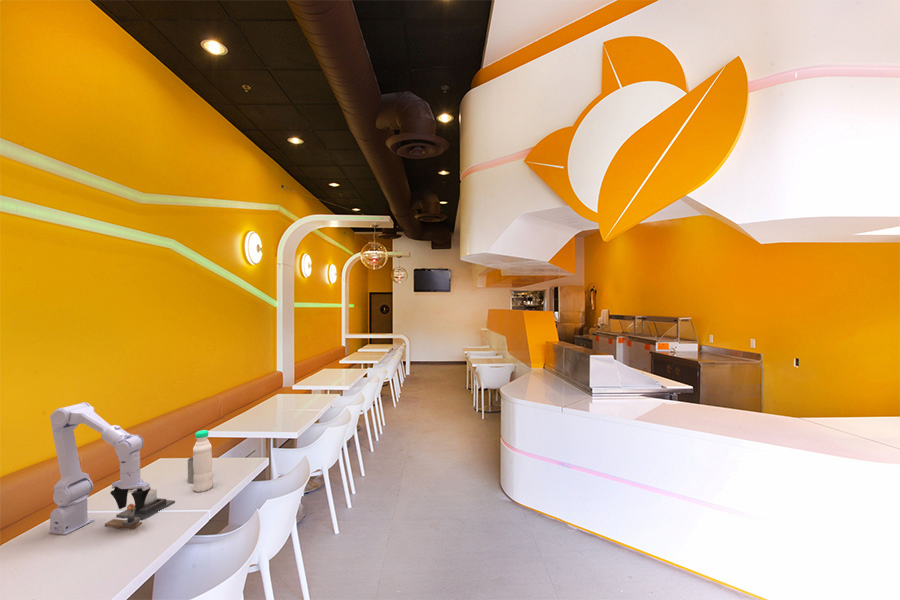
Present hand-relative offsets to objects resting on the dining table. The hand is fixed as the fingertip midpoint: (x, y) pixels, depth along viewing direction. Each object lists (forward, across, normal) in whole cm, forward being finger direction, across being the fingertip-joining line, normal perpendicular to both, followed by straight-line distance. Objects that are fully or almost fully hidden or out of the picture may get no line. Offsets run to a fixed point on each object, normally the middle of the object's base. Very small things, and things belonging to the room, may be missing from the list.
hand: (131, 508), depth 143 cm
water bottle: (+7, -2, -30) cm, 31 cm away
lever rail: (+6, +4, 0) cm, 7 cm away
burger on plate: (+7, +31, -26) cm, 41 cm away
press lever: (+5, 0, 0) cm, 5 cm away
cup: (+7, +8, -38) cm, 39 cm away
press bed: (+6, +6, -11) cm, 14 cm away
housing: (+6, +6, -11) cm, 14 cm away
